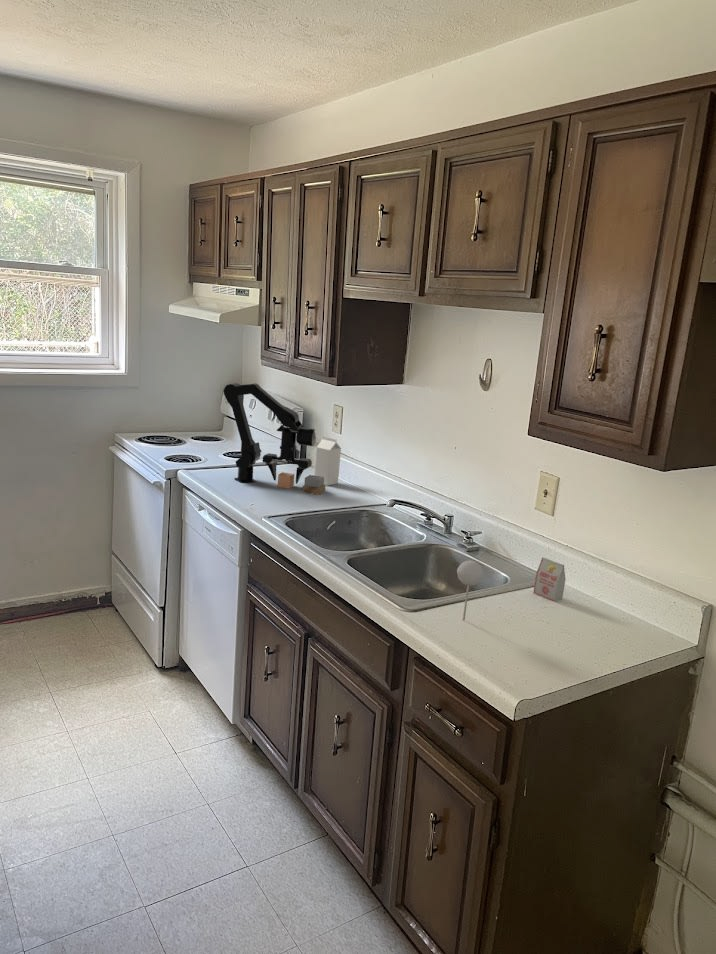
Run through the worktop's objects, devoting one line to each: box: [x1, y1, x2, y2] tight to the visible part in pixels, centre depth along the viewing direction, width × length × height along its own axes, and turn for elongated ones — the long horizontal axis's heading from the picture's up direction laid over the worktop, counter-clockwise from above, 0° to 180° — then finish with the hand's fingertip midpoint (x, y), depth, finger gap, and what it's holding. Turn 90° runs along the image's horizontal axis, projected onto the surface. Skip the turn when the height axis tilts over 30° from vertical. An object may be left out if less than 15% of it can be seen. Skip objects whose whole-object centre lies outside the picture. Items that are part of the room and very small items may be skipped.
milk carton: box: [314, 436, 342, 487], centre depth 294 cm, size 7×7×19 cm
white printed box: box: [533, 556, 566, 603], centre depth 192 cm, size 4×7×10 cm, turn 40°
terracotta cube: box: [277, 471, 295, 489], centre depth 284 cm, size 5×5×5 cm
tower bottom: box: [302, 484, 326, 496], centre depth 280 cm, size 7×7×3 cm
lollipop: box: [456, 560, 484, 621], centre depth 171 cm, size 6×6×15 cm
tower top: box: [303, 474, 324, 487], centre depth 280 cm, size 6×6×3 cm
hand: (285, 481), depth 284 cm, fingers open, 9 cm apart
